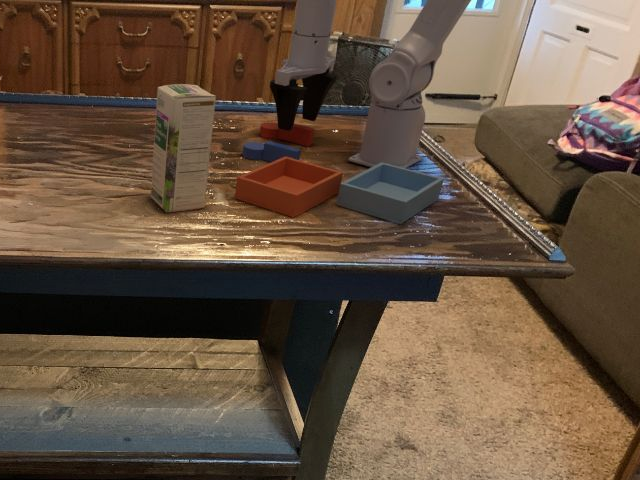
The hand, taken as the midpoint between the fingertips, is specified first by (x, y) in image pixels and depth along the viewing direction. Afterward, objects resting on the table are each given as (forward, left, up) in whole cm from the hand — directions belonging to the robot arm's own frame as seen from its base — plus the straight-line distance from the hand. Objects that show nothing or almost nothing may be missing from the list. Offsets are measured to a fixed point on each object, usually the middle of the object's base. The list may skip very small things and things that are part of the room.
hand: (297, 124), depth 123 cm
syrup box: (+35, +3, -3) cm, 35 cm away
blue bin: (+14, +23, -3) cm, 27 cm away
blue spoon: (+11, +2, -3) cm, 12 cm away
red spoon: (0, -2, -3) cm, 3 cm away
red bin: (+22, +12, -3) cm, 25 cm away
